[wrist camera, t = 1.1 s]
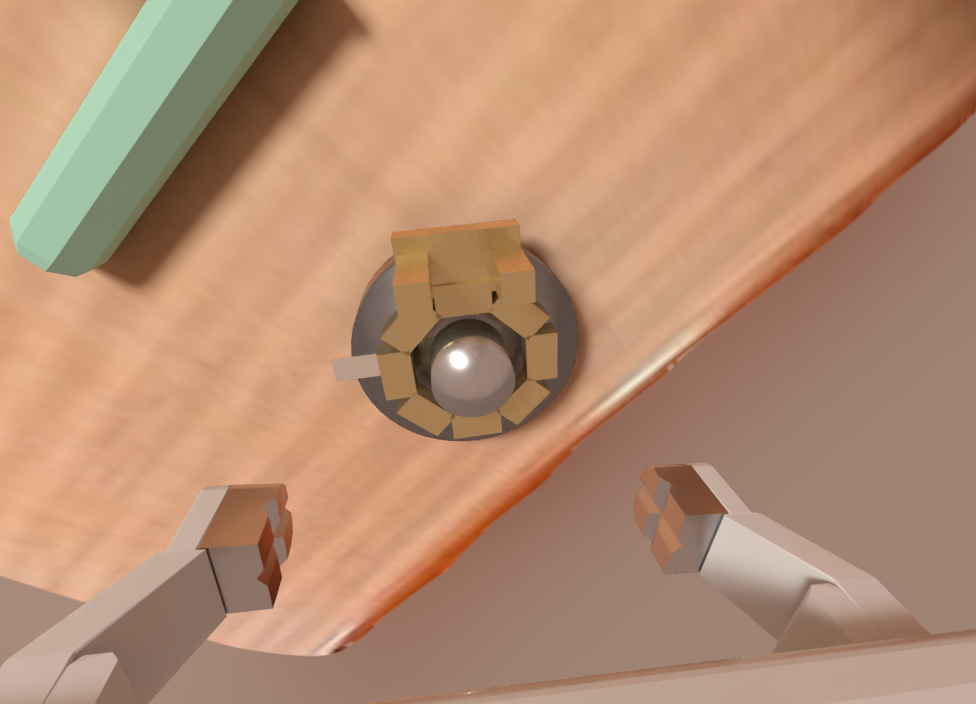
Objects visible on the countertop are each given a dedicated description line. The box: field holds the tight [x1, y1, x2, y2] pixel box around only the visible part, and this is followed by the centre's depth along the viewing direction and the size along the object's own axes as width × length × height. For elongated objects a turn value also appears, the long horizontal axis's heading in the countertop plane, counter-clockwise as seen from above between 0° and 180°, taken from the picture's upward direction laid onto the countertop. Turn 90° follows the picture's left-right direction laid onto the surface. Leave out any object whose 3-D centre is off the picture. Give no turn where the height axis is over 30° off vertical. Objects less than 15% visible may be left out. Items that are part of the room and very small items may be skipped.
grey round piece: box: [331, 244, 578, 441], centre depth 35 cm, size 18×18×8 cm
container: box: [9, 0, 299, 277], centre depth 27 cm, size 6×6×25 cm
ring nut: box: [376, 219, 558, 439], centre depth 32 cm, size 17×13×7 cm
